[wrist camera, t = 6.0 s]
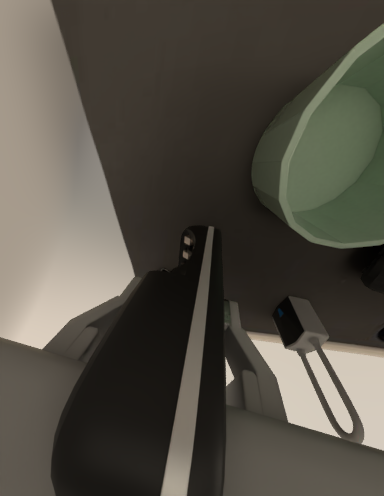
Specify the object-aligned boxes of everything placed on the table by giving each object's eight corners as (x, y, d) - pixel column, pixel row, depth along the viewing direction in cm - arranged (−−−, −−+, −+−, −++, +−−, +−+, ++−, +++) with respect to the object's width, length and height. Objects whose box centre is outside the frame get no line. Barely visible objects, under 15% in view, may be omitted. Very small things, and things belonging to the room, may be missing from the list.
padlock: (290, 321, 28) (351, 452, 15) (269, 316, 28) (313, 441, 15) (310, 300, 24) (413, 449, 12) (286, 295, 24) (362, 435, 12)
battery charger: (176, 216, 11) (-84, 531, 2) (223, 224, 11) (247, 676, 1) (172, 277, 15) (87, 481, 5) (206, 285, 15) (182, 516, 5)
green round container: (420, 93, 11) (779, -32, 4) (325, 221, 17) (403, 262, 10) (282, 71, 12) (385, -77, 5) (237, 203, 18) (251, 230, 11)
